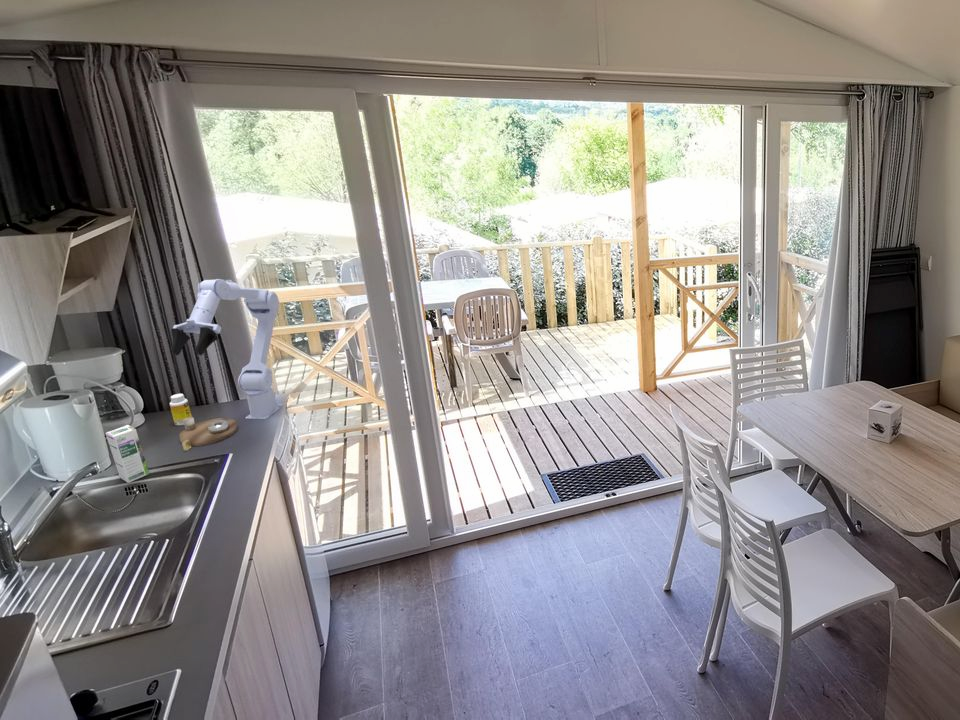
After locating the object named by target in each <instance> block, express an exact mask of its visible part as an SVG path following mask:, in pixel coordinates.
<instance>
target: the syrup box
mask: <svg viewBox="0 0 960 720" xmlns="http://www.w3.org/2000/svg"><path fill="white" fill-rule="evenodd" d="M138 435H139V434H138V432H137V428H135V427H133V426H131V425H129V424H126V425H124V426H121V427H119V428H115V429H113V430H110V431H106V432H105V436H106V439H107V442H108V446H109V449H110V452H111V454H112V457H113V460H114V463H115V466H116V469H117V473H118V475H119V478H120V479H122V480H123V481H124V482H126V483H127V484H129V483H132V482H134V481H136V480H139V479H142V478H143V477H145V476H148V475H150V472H149V468H148V467H149V466H148V464H147V461H146V458H145V455H144V451H143V448H142V445H141V442H140V439H139V436H138Z"/></svg>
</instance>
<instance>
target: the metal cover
mask: <svg viewBox="0 0 960 720" xmlns="http://www.w3.org/2000/svg"><path fill="white" fill-rule="evenodd" d="M208 429H209V433H211V434H218V433H222V432H225V431H227V430H228V429H229V424H228V421H226V420H219V421H215V422H212V423H210V424H209V425H208Z"/></svg>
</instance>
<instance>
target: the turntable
mask: <svg viewBox="0 0 960 720" xmlns="http://www.w3.org/2000/svg"><path fill="white" fill-rule="evenodd" d="M219 420H226V421H228V424H229V429H228V430H227V431H225V432H222V433H218V434H211V433H209V429H208V425H209V424H210V423H212V422H215V421H219ZM183 421H184V425H183V426H184V429H183V430H181V431H180V433H179V435H178V438H179V441H180V443H181V444H182V442H184V441H185V440H190V443H191V447H202V446H208V445H211V444H215V443H219V442H221V441H224V440H226V439H228V438H230V437H231V436H233V435H234V434H235V433H236V432H237V431H238V424H237V421H236V420H235V419H233V418H227V417H224V418H223V417H219V418H211V419H207V420H202V421H199V422H196V423H195V417H193V416H192V417H188V418H185V419H184V420H183Z"/></svg>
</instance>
